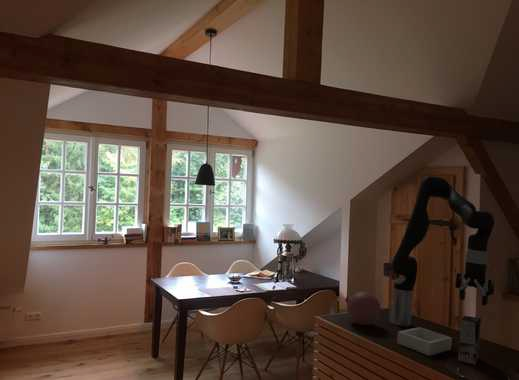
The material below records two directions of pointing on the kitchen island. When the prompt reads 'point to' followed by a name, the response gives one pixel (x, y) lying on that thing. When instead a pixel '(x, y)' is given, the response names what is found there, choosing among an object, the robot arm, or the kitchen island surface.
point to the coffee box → (469, 339)
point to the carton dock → (424, 341)
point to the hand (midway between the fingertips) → (472, 302)
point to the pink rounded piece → (363, 308)
